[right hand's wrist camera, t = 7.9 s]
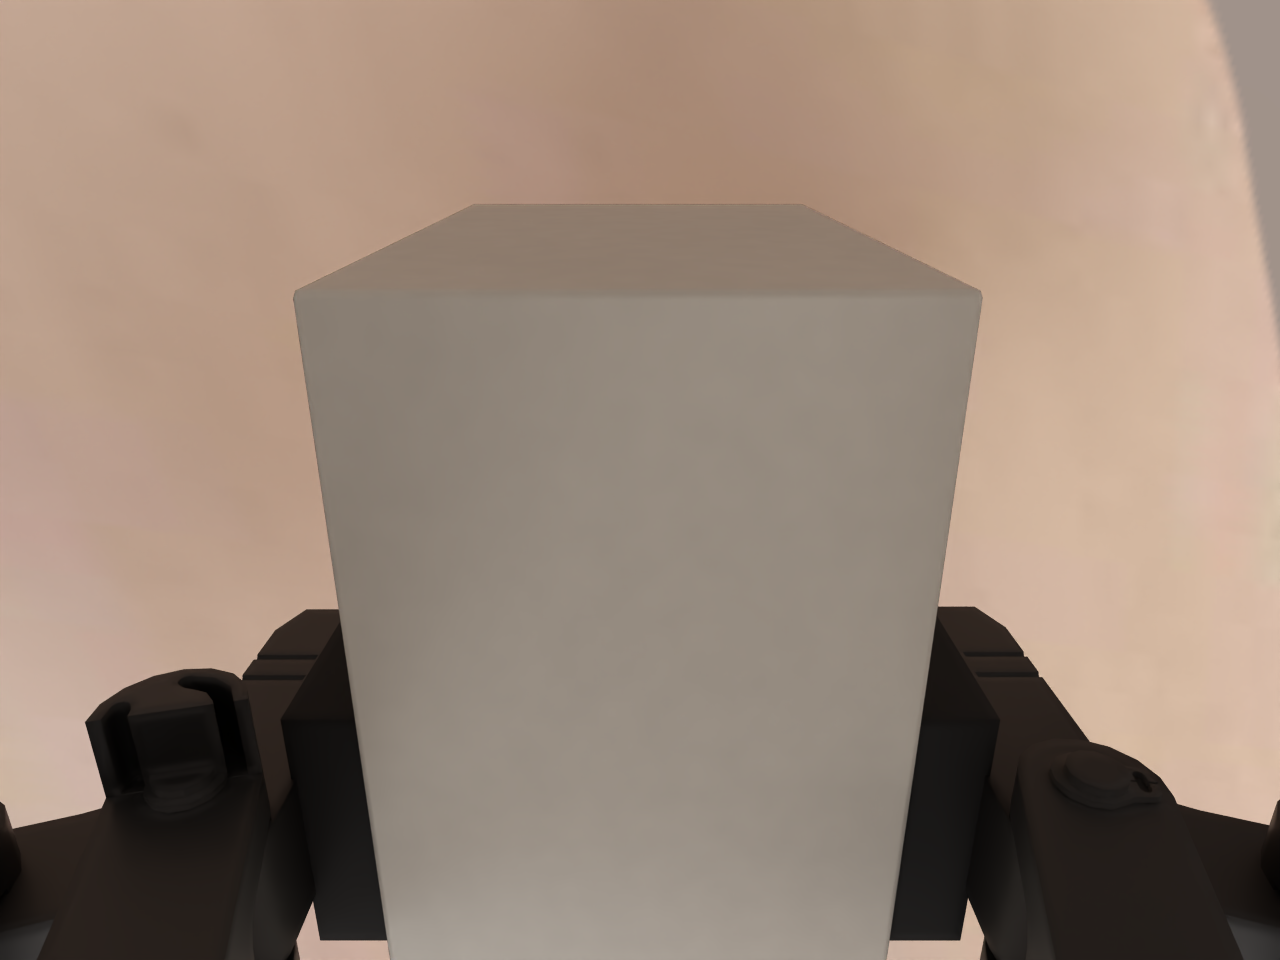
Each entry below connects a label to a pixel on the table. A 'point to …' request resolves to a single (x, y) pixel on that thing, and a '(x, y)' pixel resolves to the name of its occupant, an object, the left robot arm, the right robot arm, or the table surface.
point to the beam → (638, 571)
